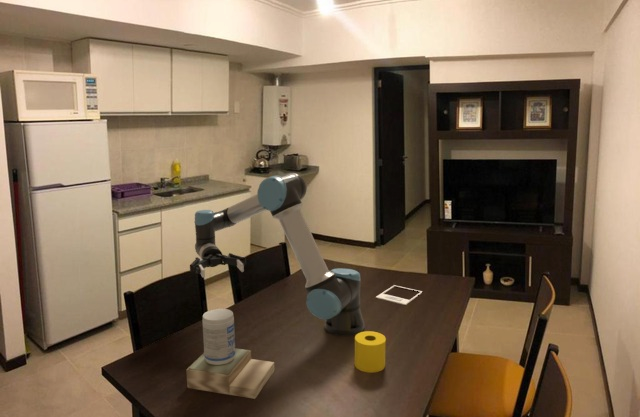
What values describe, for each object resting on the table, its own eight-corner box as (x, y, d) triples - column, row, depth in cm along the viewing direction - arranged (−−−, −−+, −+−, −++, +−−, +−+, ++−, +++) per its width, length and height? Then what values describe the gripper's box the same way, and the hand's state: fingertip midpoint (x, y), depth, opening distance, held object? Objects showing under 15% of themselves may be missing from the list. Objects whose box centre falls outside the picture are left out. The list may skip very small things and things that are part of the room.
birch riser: (274, 370, 154) (274, 352, 153) (255, 398, 139) (254, 379, 138) (212, 361, 160) (211, 344, 159) (187, 387, 145) (186, 368, 144)
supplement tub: (236, 364, 146) (234, 319, 143) (204, 368, 144) (201, 322, 141) (234, 349, 155) (233, 306, 152) (204, 352, 153) (202, 309, 150)
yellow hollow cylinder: (353, 356, 163) (354, 331, 161) (383, 357, 163) (384, 331, 161) (355, 372, 154) (355, 345, 152) (386, 372, 153) (387, 345, 151)
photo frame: (375, 296, 215) (394, 284, 229) (375, 298, 215) (393, 286, 230) (405, 303, 207) (422, 291, 221) (405, 306, 207) (422, 293, 221)
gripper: (243, 260, 191) (258, 275, 172) (178, 269, 181) (187, 286, 162) (242, 242, 189) (257, 255, 170) (177, 249, 179) (185, 265, 160)
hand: (223, 270), depth 166 cm, fingers open, 13 cm apart
